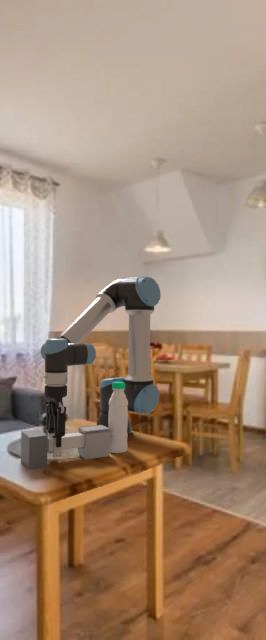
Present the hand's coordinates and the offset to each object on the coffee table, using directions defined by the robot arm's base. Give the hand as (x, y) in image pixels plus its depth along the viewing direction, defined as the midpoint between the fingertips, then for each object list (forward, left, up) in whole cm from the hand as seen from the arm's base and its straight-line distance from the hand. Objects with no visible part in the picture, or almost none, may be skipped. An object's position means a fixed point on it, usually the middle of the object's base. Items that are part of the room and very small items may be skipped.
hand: (54, 454), depth 155 cm
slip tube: (-3, +2, +2) cm, 4 cm away
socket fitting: (+6, -4, -2) cm, 8 cm away
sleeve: (-12, +7, -2) cm, 14 cm away
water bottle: (-21, +11, -2) cm, 24 cm away
